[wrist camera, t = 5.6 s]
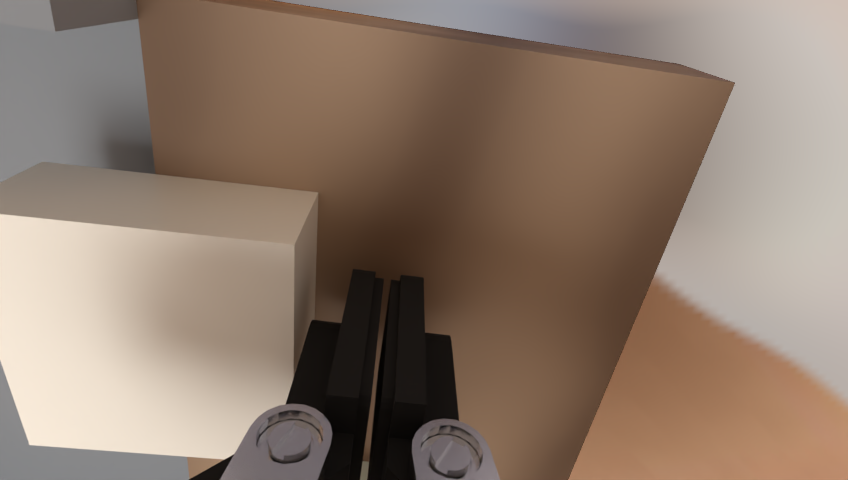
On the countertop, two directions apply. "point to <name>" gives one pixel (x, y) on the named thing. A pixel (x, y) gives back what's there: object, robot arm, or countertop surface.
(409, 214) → the walnut board
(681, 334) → the countertop surface
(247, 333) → the tile cream
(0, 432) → the box
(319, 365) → the robot arm
